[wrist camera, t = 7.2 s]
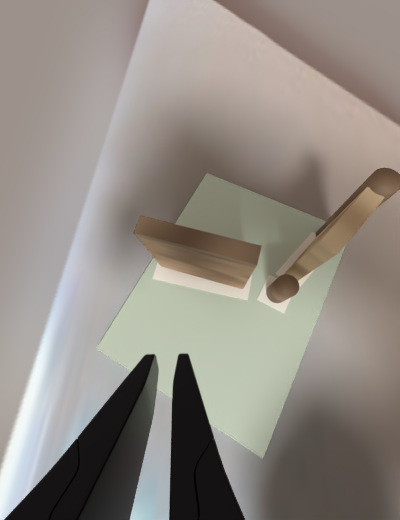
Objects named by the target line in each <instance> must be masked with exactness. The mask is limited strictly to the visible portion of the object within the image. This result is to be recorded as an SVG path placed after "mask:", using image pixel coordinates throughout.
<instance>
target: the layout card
mask: <svg viewBox="0 0 400 520" xmlns="http://www.w3.org/2000/svg"><path fill="white" fill-rule="evenodd" d="M325 222H326V221H324V220H322V219H319V218H317V217H314V216H312V215H309V214H307V213H305V212H302V211H300V210H297V209H295V208H292V207H290V206H287V205H285V204H282V203H280V202H277V201H275V200H273V199H270V198H268V197H265V196H263V195H260V194H258V193H255V192H253V191H250V190H248V189H245V188H243V187H241V186H238V185H236V184H233V183H231V182H228V181H226V180H223V179H221V178H218V177H216V176H213V175H211V174H209V173H206V175H205V176H204V178H203V180H202V181H201V183H200V184H199V186H198V188H197V189H196V191H195V192H194V194H193V196H192V197H191V199H190V200H189V202H188V203H187V205H186V207H185V208H184V210H183V211H182V213H181V215H180V216H179V218H178V219H177V221H176V223H175V224H176V225H180V226H184V227H188V228H192V229H196V230H200V231H204V232H208V233H212V234H217V235H221V236H225V237H229V238H233V239H237V240H241V241H245V242H249V243H253V244H257V245H261V246H262V247H261V251H260V255H259V260H258V264H257V266H256V268H255V269H254V271H253V273H252V275H251V276H250V278H249V280H248V281H247V283H246V285H245V287H244V288H243V289H239V288H236V287H232V286H229V285H225V284H222V283H218V282H214V281H211V280H207V279H204V278H200V277H197V276H193V275H190V274H186V273H183V272H179V271H175V270H172V269H168V268H165V267H161V266H160V265H159V263H158V262H157V261H156V259H155V258H153V259H152V261H151V262H150V264H149V265H148V267H147V269H146V270H145V272H144V273H143V275H142V277H141V278H140V280H139V281H138V283H137V285H136V286H135V288H134V289H133V291H132V292H131V294H130V296H129V297H128V299H127V300H126V302H125V304H124V305H123V307H122V308H121V310H120V312H119V313H118V315H117V316H116V318H115V319H114V321H113V323H112V324H111V326H110V327H109V329H108V331H107V332H106V334H105V335H104V337H103V339H102V340H101V342H100V343H99V345H98V346H97V348H96V349H97V350H99V351H100V352H102V353H103V354H105V355H106V356H108V357H109V358H111V359H112V360H114V361H116V362H117V363H119V364H120V365H122V366H123V367H125V368H126V369H128V370H129V371H132V370H133V369H134V368H135V366H136V365H137V364H138V363H139V361H140V360H141V359H142V358H143V356H144V355H146V354H155V355H156V358H157V363H158V367H159V374H158V383H157V389H158V390H159V391H161V392H162V393H164V394H165V395H167V396H168V397H170V398H171V399H172V391H173V379H174V374H175V368H176V363H177V358H178V355H179V354H180V353H188V354H189V357H190V360H191V364H192V367H193V370H194V373H195V377H196V380H197V383H198V387H199V390H200V393H201V396H202V400H203V403H204V406H205V410H206V413H207V416H208V419H209V423H210V424H211V425H212V426H214V427H215V428H217V429H218V430H220V431H221V432H223V433H224V434H226V435H227V436H229V437H230V438H232V439H233V440H235V441H236V442H238V443H239V444H241V445H242V446H244V447H246V448H247V449H249V450H250V451H252V452H253V453H255V454H256V455H258V456H259V457H261V458H262V459H263V457H264V455H265V452H266V450H267V447H268V445H269V442H270V439H271V437H272V434H273V432H274V429H275V427H276V424H277V421H278V419H279V416H280V414H281V411H282V409H283V406H284V403H285V401H286V398H287V396H288V393H289V391H290V388H291V385H292V383H293V380H294V378H295V375H296V373H297V370H298V367H299V365H300V362H301V360H302V357H303V355H304V352H305V349H306V347H307V344H308V342H309V339H310V337H311V334H312V332H313V329H314V326H315V324H316V321H317V319H318V316H319V314H320V311H321V308H322V306H323V303H324V301H325V298H326V296H327V293H328V290H329V288H330V285H331V283H332V280H333V278H334V275H335V272H336V270H337V267H338V265H339V262H340V260H341V257H342V254H343V252H344V249H345V247H346V245H345V246H344V247H343V249H342V250H341V251H340V252H339V253H338V254H337V255H335V256H334V257H332V258H331V259H329V260H328V261H326V262H325V263H323V264H322V265H320V266H319V267H317V268H316V269H315V270H313V271H312V272H310V273H309V274H307V275H306V276H304V277H303V278H301V279H300V280H298V282H299V291H298V293H297V294H296V295H295V296H293V297H291V298H289V299H287V300H285V301H283V302H281V303H273V302H271V301H270V300H269V299H268V297H267V295H266V290H267V288H268V287H269V286H270V285H271V284H272V283H273V282H274V281H275V280H276V279H277V278H278V277H279V276H281V275H283V274H284V273H285V272H286V271H287V270H288V269H289V268H290V267H291V265H292V264H293V263H294V262H295V261H296V260H297V258H298V257H299V256H300V255H301V254H302V253H303V252H304V250H305V249H306V248H307V247H308V246H309V245H310V244H311V242H312V241H313V240H314V239H315V238H316V232H317V231H318V230H319V229H320V228H321V227H322V226H323V224H324V223H325Z"/></svg>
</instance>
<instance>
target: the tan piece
mask: <svg viewBox="0 0 400 520" xmlns="http://www.w3.org/2000/svg"><path fill="white" fill-rule="evenodd" d="M398 190H400V174H399V173H398V172H396V171H394V170H392V169H389V168H380V169H377V170H376V171H375V172H374V173H373V174H372V175H371V176H370V177H369V178H368V179H367V180H366V181H365V182H364V183H363V184H362V185H361V186H360V187H359V188H358V189H357V190H356V191H355V192H354V193H353V194H352V195H351V196H350V197H349V199H348V200H347V201H346V202H345V203H344V204H343V205H342V206H341V207H340V208H339V209H338V210H337V211H336V212H335V213H334V214H333V215H332V216H331V217H330V218H329V219H328V220H327V221H326V222H325V223H324V224H323V226H322V227H321V228H320V229H319V230H318V231H317V232H316V238H315V239H314V240H313V241H312V242H311V244H310V245H309V246H308V247H307V248H306V249H305V250H304V252H303V253H302V254H301V255H300V256H299V257H298V258H297V260H296V261H295V262H294V263H293V264H292V265H291V267H290V268H289V269H288V270H287V271H286V272H285V273H284V274H283V275H281V276H279V277H278V278H277V279H276V280H275V281H274V282H273V283H272V284H271V285H270V286H269V287H268V288H267V290H266V295H267V297H268V299H269V300H270V301H271V302H273V303H281V302H283V301H285V300H287V299H289V298H291V297H293V296H295V295H296V294H297V293H298V291H299V282H298V280H300V279H301V278H303V277H304V276H306V275H307V274H309V273H310V272H312V271H313V270H315V269H316V268H317V267H319V266H320V265H322V264H323V263H325V262H326V261H328V260H329V259H331V258H332V257H334V256H335V255H337V254H338V253H339V252H340V251H341V250H342V249H343V247H344V246H345V245H346V244H347V243H348V241H349V240H350V239H351V238H352V237H353V235H354V234H355V233H356V232H357V230H358V229H359V228H360V227H361V226H362V224H363V223H364V222H365V221H366V220H367V218H368V217H369V216H370V215H371V214H372V212H373V211H374V210H375V209H376V208H377V207H378V206H380V205H381V204H382V203H383V202H385V201H386V200H387V199H388V198H390V197H391V196H392V195H393V194H395V193H396V192H397V191H398Z"/></svg>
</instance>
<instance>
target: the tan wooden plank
mask: <svg viewBox="0 0 400 520" xmlns="http://www.w3.org/2000/svg"><path fill="white" fill-rule="evenodd" d="M134 233H135V235H136V236H137V237H138V238H139V239H140V241H141V242H142V243H143V244H144V246H145V247H146V248H147V249H148V251H149V252H150V253H151V254H152V256H153V257H154V258H155V259H156V261H157V262H158V263H159V265H160V266H161V267H165V268H168V269H172V270H175V271H179V272H183V273H186V274H190V275H193V276H197V277H200V278H204V279H207V280H211V281H214V282H218V283H222V284H225V285H229V286H232V287H236V288H239V289H243V288H244V287H245V285H246V283H247V281H248V280H249V278H250V276H251V275H252V273H253V271H254V269H255V268H256V266H257V264H258V260H259V255H260V251H261V247H262V246H261V245H257V244H253V243H249V242H245V241H241V240H237V239H233V238H229V237H225V236H221V235H217V234H212V233H208V232H204V231H200V230H196V229H192V228H188V227H184V226H180V225H176V224H172V223H168V222H164V221H160V220H156V219H152V218H148V217H144V216H140V218H139V220H138V223H137V225H136V228H135V230H134Z"/></svg>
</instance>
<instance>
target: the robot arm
mask: <svg viewBox="0 0 400 520" xmlns="http://www.w3.org/2000/svg"><path fill="white" fill-rule="evenodd" d="M158 374H159V367H158V363H157V358H156V355H155V354H146V355H144V356H143V358H142V359H141V360H140V361H139V363H138V364H137V365H136V366H135V368H134V369H133V370H132V371H131V372H130V374H129V375H128V376H127V377H126V379H125V380H124V381H123V382H122V383H121V385H120V386H119V387H118V388H117V390H116V391H115V392H114V393H113V395H112V396H111V397H110V398H109V399H108V401H107V402H106V403H105V404H104V406H103V407H102V408H101V409H100V411H99V412H98V413H97V414H96V415H95V417H94V418H93V419H92V420H91V422H90V423H89V424H88V425H87V427H86V428H85V429H84V430H83V431H82V433H81V434H80V435H79V436H78V439H76V440H75V441H74V442H73V444H72V445H71V446H70V447H69V448H68V450H67V451H66V452H65V453H64V454H63V456H62V457H61V458H60V459H59V460H58V462H57V463H56V464H55V465H54V466H53V467H52V469H51V470H50V471H49V472H48V473H47V474H46V475H45V476H44V477H43V479H42V480H41V481H40V482H39V483H38V484H37V485H36V486H35V487H34V488H33V490H32V491H31V492H30V493H29V494H28V495H27V496H26V497H25V498H24V499H23V500H22V501H21V502H20V503H19V504H18V506H17V507H16V508H15V509H14V510H13V511H12V512H11V513H10V514H9V515H8V516H7V517H6V518H5V519H4V520H130V516H131V511H132V507H133V503H134V498H135V494H136V489H137V485H138V481H139V476H140V472H141V468H142V463H143V459H144V454H145V450H146V446H147V441H148V437H149V432H150V428H151V424H152V419H153V414H154V407H155V399H156V391H157V383H158ZM169 520H245V518H244V516H243V513H242V511H241V509H240V506H239V504H238V502H237V499H236V497H235V495H234V492H233V490H232V487H231V485H230V482H229V480H228V477H227V475H226V472H225V470H224V467H223V464H222V461H221V458H220V455H219V452H218V449H217V445H216V442H215V439H214V436H213V433H212V429H211V426H210V423H209V419H208V416H207V413H206V410H205V406H204V403H203V400H202V396H201V393H200V390H199V387H198V383H197V380H196V377H195V373H194V370H193V367H192V364H191V360H190V357H189V354H188V353H180V354H179V355H178V358H177V363H176V368H175V374H174V379H173V391H172V432H171V473H170V513H169Z"/></svg>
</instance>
